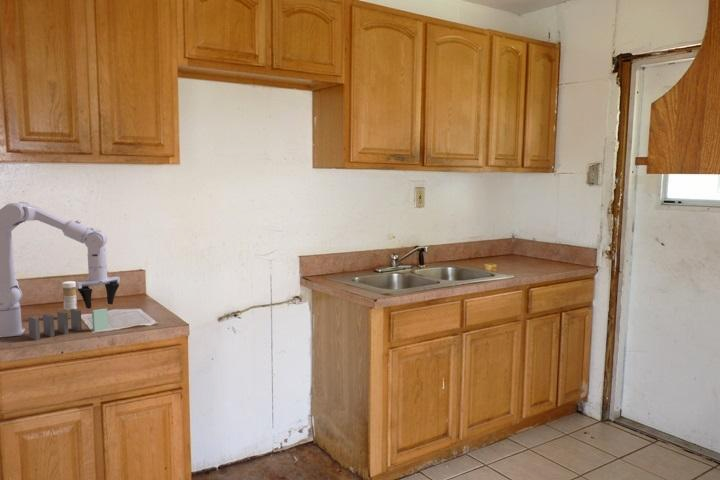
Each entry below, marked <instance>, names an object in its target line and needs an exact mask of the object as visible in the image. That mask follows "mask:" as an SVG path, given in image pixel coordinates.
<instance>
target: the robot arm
mask: <svg viewBox="0 0 720 480" xmlns="http://www.w3.org/2000/svg"><path fill="white" fill-rule="evenodd" d="M27 221H28V222H29V221H38V222H41V223H42V224H43V223H44V224H46V225H49V226H51V227H54V228H57V229H59V230H62V232H63V235H64V236H65V237H68V238H70V239H71V240H75V241H76V242H78V243H81V244H84V245H85V246H86V248H87V269H88V270H87V271H88V279H86V280H81V281H75V282H76V289H77V291H78V292H79V294H80V296H81V297H82V299H83V303H84V304H85V309H92V293H93V288H90V287H95V286H101V285H104V287H105V290H106V298H107V299H106V302H107V304H108V305H113V304H114V299H115V296H116V293H117V291H118V288H119V287H120V283H121V278H120V276H108V266H107V265H108V264H107V263H108V262H107V251H106V249H107V248H106V244H107V241H108V237H107V235H106V233H105V232H104V231H102V230H100V229H97V230H95V227H89V226H87V225H85V224H83V223H82V222H81V221H80V220H74V219H72V220H68V221H67V220H65V219H63V218H62V217H59V216H58V215H55V214H52V213H50V212H48V210H47V211H46V210H45V209H43V208H40V207H39V206H36V205H33V204H30V203H27V202H24V201H23V202H22V201H21V202H10V203H7V204H5V205H4V206H3V207H1V208H0V338H8V337H18V336H22V335H24V332H25V330H26V328H23V323H22V310H21V308H22V307H21V304H20V302H21V300H22V298H23V291H22V290H21V288H20V286H19V281H18V280H17V278H16V274H15V273H16V272H15V263H14V262H15V260H14V259H15V258H14V248H13V236H12V232H13V230H14V229H15V228H17V227H18V226H19V225H20V224H22V223H25V222H27Z"/></svg>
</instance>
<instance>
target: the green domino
mask: <svg viewBox="0 0 720 480" xmlns="http://www.w3.org/2000/svg"><path fill="white" fill-rule="evenodd" d="M91 314H92V315H91V317H92V318H91V320H92V331H93V332H98V331H97V330H99V331H102V330H101V329H103V330H107V329H106V328H108V329H109V316H108V315H109V314H108V308H106V307H105V308H104V307H103V308H100V309H94V310H92V311H91Z"/></svg>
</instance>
